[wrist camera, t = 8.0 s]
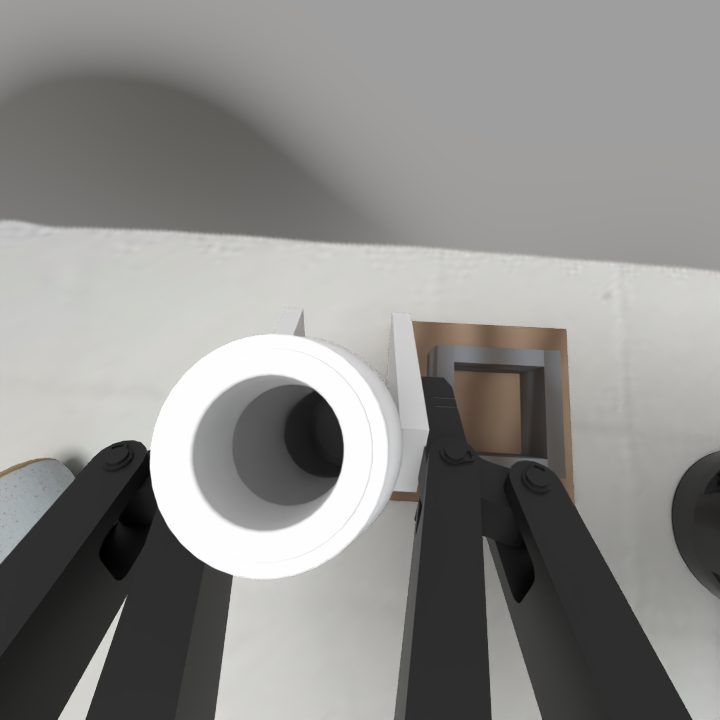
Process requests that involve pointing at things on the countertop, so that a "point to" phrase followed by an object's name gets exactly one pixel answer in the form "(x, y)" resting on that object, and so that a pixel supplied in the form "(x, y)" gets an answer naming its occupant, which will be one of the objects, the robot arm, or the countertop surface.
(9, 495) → the ceramic mug
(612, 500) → the countertop surface
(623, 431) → the countertop surface
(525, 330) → the bottle holder
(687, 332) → the countertop surface
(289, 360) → the cosmetic bottle
